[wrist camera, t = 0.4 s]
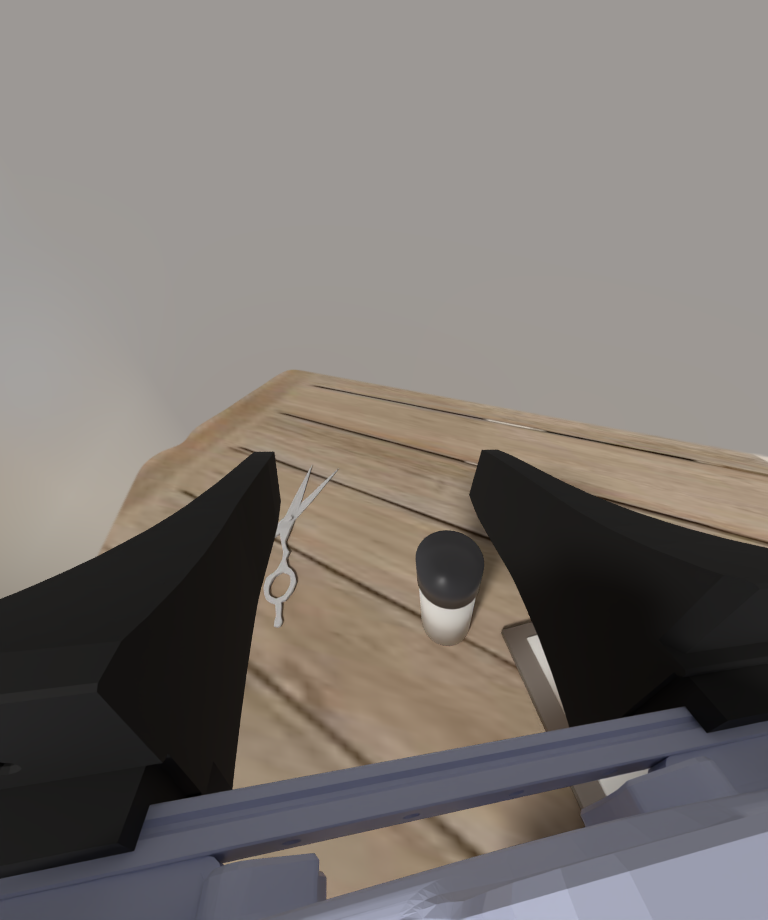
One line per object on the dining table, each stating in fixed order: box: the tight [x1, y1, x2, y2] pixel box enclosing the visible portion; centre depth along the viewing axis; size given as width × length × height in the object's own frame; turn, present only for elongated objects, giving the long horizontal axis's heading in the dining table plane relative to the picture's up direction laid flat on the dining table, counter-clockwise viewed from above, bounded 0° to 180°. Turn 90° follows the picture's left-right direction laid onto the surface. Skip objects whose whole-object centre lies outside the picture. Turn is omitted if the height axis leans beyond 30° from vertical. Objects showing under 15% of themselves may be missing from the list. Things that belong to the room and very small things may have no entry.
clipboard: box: [501, 622, 648, 809], centre depth 19 cm, size 14×16×2 cm
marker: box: [416, 530, 484, 646], centre depth 22 cm, size 4×4×10 cm
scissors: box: [264, 466, 339, 627], centre depth 35 cm, size 11×1×20 cm
